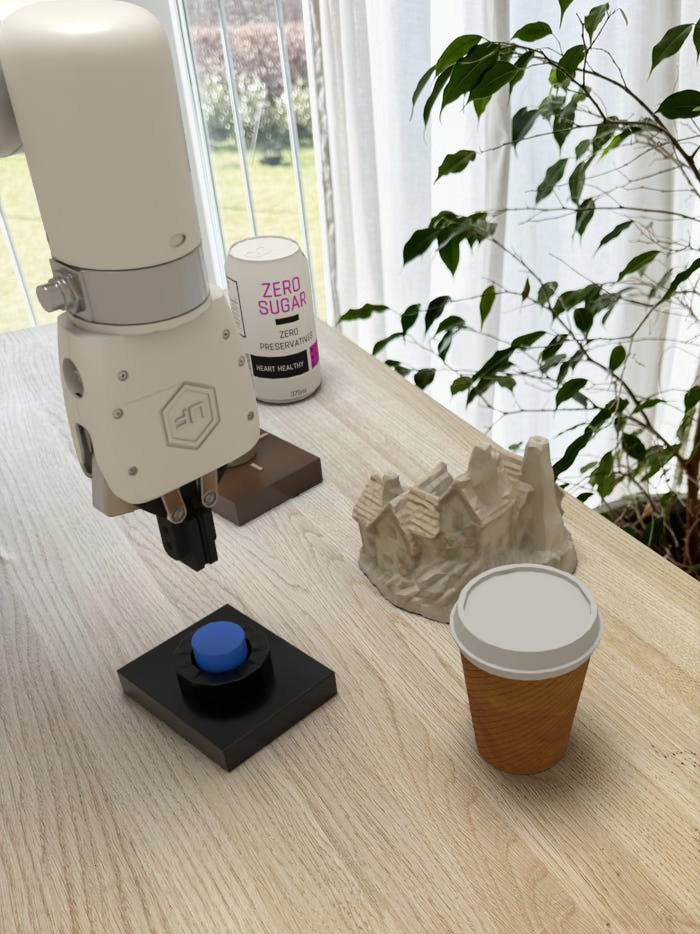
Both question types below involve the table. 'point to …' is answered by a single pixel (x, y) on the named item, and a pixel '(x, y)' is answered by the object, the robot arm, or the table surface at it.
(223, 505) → the panel
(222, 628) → the light button
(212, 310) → the robot arm
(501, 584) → the disposable coffee cup
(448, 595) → the ceramic cottage
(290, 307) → the white soda can
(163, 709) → the switch block
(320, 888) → the table surface
